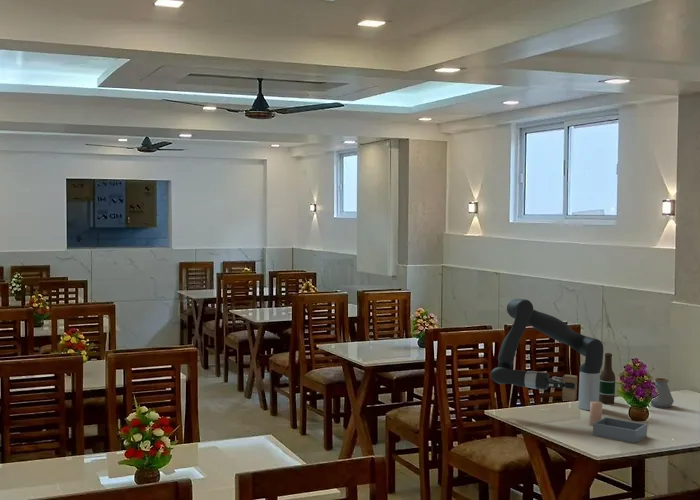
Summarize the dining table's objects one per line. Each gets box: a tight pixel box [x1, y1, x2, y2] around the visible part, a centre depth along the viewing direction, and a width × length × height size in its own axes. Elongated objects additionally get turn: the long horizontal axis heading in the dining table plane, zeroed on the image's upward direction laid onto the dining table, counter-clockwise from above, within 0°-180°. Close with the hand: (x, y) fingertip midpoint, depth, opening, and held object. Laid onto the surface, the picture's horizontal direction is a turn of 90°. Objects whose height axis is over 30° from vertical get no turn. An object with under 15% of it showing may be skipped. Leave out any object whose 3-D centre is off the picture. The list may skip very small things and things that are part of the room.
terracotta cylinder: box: [589, 401, 603, 427], centre depth 354 cm, size 5×5×10 cm
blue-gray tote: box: [592, 416, 648, 444], centre depth 338 cm, size 14×18×5 cm
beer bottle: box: [599, 352, 616, 405], centre depth 397 cm, size 8×8×24 cm
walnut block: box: [561, 374, 578, 402], centre depth 353 cm, size 5×5×10 cm
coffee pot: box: [650, 377, 674, 409], centre depth 391 cm, size 21×12×15 cm, turn 116°
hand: (576, 384), depth 351 cm, fingers closed on walnut block, 5 cm apart
